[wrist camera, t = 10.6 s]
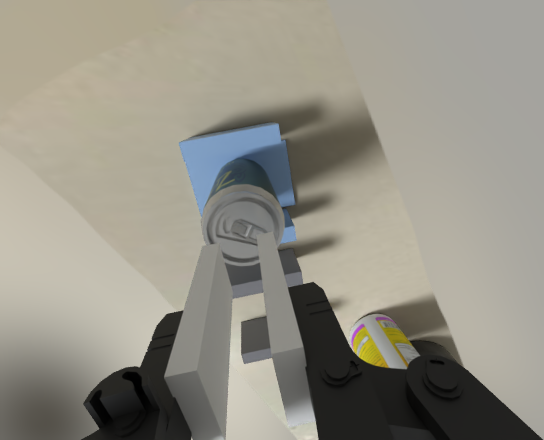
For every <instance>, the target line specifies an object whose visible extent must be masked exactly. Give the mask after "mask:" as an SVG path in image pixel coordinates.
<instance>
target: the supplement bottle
mask: <svg viewBox="0 0 544 440" xmlns="http://www.w3.org/2000/svg"><path fill="white" fill-rule="evenodd" d="M350 342H351V345H352V347H353V349H354V351H355V353H356V355H357V356H358V357H359V358H361V359H362V360H364V361H365V362H367V363H370V364H372V365H375V366H380V367H387V368H398V369H407V367H408V365H409V362H410V361H412V360H413V359H415V358H416V357H418V356H420V355H419V354H418V352H417V351H416V350H415V348H414V347H413V346H412V344H411V343H410V342H409V340H408V339H407V338H406V336H405V335H404V334H403V332H402V331H401V330H400V328H399V327H398V326H397V324H396V323H395V322H394V321H393V320H392V319H391V318H390V317H388V316H386V315H383V314H372V315H368V316H366V317H363V318H362V319H360V320H359V321H357V322H356V323H355V325H354V326H353V327H352V329H351V332H350Z"/></svg>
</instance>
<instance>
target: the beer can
mask: <svg viewBox="0 0 544 440" xmlns="http://www.w3.org/2000/svg"><path fill="white" fill-rule="evenodd" d="M201 226H202V234H203V236H204V241H205V243H206V245H211V244H216V243H219V244H220V248H221V251H222V255H223V258H224V262H226V263H228V264H231V265H236V266H250V265H255V264H257V263H260V259H259V251H258V243H257V235H260V234H265V233H270V232H273V234H274V238H275V242H276V246H277V248H278V247H279V245H280V243H281V240H282V237H283V232H284V228H285V219H284V214H283V211H282V208H281V205H280V203H279V201H278V198H277V196H276V194H275V191H274V189H273V187H272V184H271V182H270V180H269V177H268V175H267V173H266V171H265V170H264V169H263V167H262V166H261V165H259V164H258V163H256V162H255V161H252V160H249V159H235V160H233V161H230V162H228V163H227V164H226V165H224V166H223V167H222V168H221V170H220V171H219V173H218V175H217V177H216V179H215V182H214V184H213V187H212V189H211V192H210V194H209V197H208V199H207V202H206V204H205V207H204V209H203V214H202V219H201Z"/></svg>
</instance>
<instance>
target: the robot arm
mask: <svg viewBox="0 0 544 440" xmlns="http://www.w3.org/2000/svg"><path fill="white" fill-rule="evenodd" d="M257 243H258V251H259V259H260V267H261V275H262V283H263V291H264V299H265V307H266V315H267V323H268V331H269V339H270V347H271V355H272V359H273V363H274V367H275V372H276V376H277V380H278V384H279V388H280V393H281V397H282V401H283V405H284V409H285V414H286V418H287V422H288V426H289V427H293V426H297V425H301V424H306V423H310V422H314V421H316V425H317V432H318V438H319V440H543V439H542V438H541V437H539V436H538V435H537V434H536V433H535V432H534V431H533V430H532V429H531V428H530V427H528V426H527V425H526V424H525V423H524V422H523V421H522V420H521V419H520V418H519V417H518V416H517V415H515V414H514V413H513V412H512V411H511V410H510V409H509V408H508V407H507V406H506V405H505V404H504V403H502V402H501V401H500V400H499V399H498V398H497V397H496V396H495V395H494V394H493V393H492V392H490V391H489V390H488V389H487V388H486V387H485V386H484V385H483V384H482V383H481V382H480V381H478V380H477V379H476V378H475V377H474V376H473V375H472V374H471V373H470V372H469V371H468V370H466V369H465V368H463V367H462V366H461V365H459V364H458V363H457V362H456V360H455V359H454V358H453V357H452V356H451V355H450V353H449V352H448V351H447V350H446V349H445V348H443V347H442V346H440V345H438V344H436V343H432V342H427V341H413V342H410V343H411V344H412V346H413V347H414V348H415V350H416V351H417V352H418V354H419V355H420V356H418V357H416V358H415V359H413V360H412V361H410V362H409V365H408V367H407V369H398V368H387V367H380V366H375V365H372V364H370V363H367V362H365V361H364V360H362V359H361V358H359V357H358V356H357V355H356V354H355V353H354V352H353V351H352V349H351V348H350V346H349V344H348V342H347V340H346V337H345V335H344V333H343V331H342V329H341V327H340V325H339V322H338V320H337V318H336V316H335V314H334V312H333V311H332V307H331V305H330V303H329V302H328V299H327V297H326V295H325V292H324V290H323V289H322V288H321V287H319V286H318V285H317V284H315V283H314V282H311V283H306V284H302V285H297V286H292V287H287V283H286V280H285V276H284V272H283V268H282V265H281V261H280V257H279V253H278V250H277V246H276V242H275V238H274V234H273V232H270V233H265V234H260V235H257ZM232 296H233V291H232V287H231V283H230V280H229V276H228V273H227V269H226V266H225V262H224V258H223V255H222V251H221V248H220V244H219V243H216V244H211V245H206V246H203V247H202V250H201V253H200V257H199V260H198V264H197V267H196V270H195V274H194V277H193V280H192V284H191V287H190V291H189V294H188V297H187V301H186V304H185V308H184V310H183V311H178V312H174V313H169V314H166V316H165V317H164V318H163V319H162V320H161V321H160V323H159V324H158V325H157V327H156V329H155V332H154V334H153V336H152V341H151V342H150V344H149V347H148V349H147V350H148V351H147V352H146V354H145V356H144V359H143V362H142V364H141V366H140V367H135V366H134V367H127V368H124V369H121V370H119V371H116V372H114V373H112V374H111V375H109V376H108V377H107V378H105V379H104V380H102V381H101V382H100V383H99V384H98V385H97V386H96V387H95V388H94V389H93V390H92V391H91V393H90V394H89V395H88V397H87V399H86V400H85V402H84V406H85V407H86V409H87V410H88V412H89V413H90V415H91V416H92V418H93V419H94V421H95V422H96V424H97V425H98V427H99V430H97V431H96V432H94V433H93V434H91V435H89V436H87V437H85V438H83V439H81V440H191V436H192V439H193V440H225V437H226V416H227V397H228V377H229V356H230V336H231V316H232Z"/></svg>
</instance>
